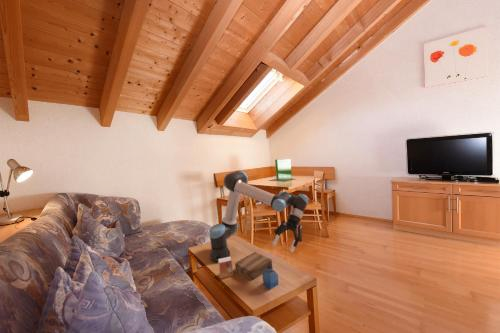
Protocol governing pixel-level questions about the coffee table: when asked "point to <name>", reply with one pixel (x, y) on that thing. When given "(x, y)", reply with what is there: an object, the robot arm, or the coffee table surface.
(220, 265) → the small box
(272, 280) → the perfume bottle
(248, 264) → the walnut riser block
